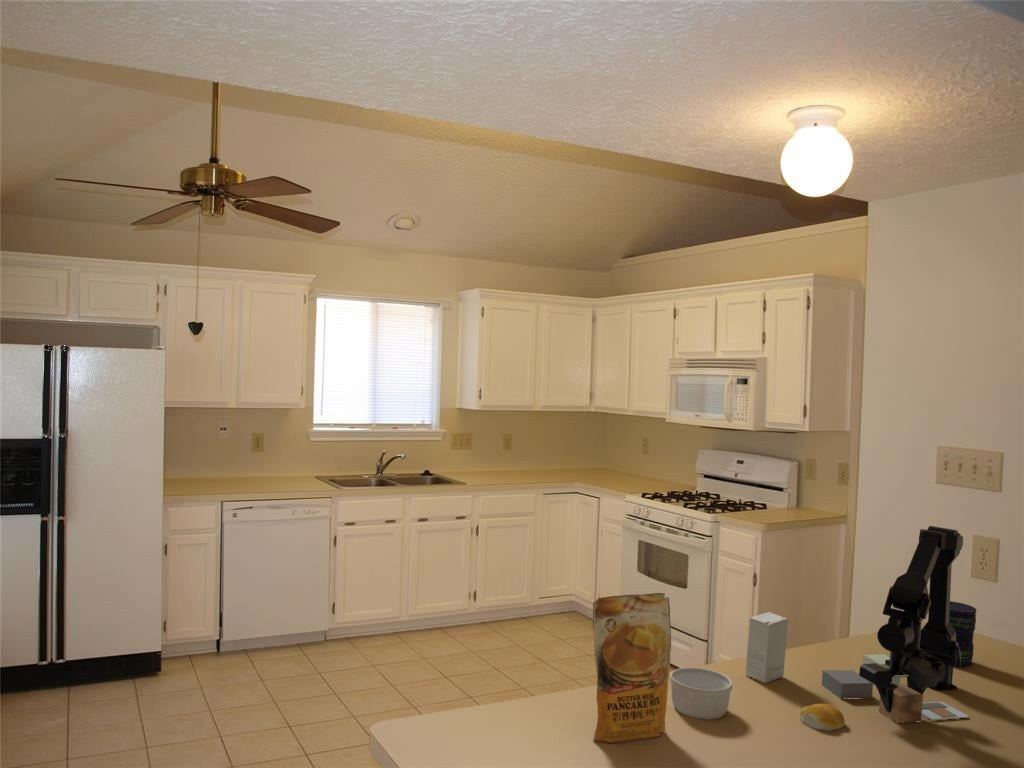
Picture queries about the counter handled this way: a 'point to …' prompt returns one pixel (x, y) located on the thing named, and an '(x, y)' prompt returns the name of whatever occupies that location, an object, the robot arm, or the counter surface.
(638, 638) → the pancake mix bag
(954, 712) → the card
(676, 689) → the ramekin
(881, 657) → the sage cube
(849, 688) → the charcoal block
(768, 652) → the skincare box
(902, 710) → the walnut cube
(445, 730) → the counter surface
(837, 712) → the bread roll
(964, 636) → the storage jar
